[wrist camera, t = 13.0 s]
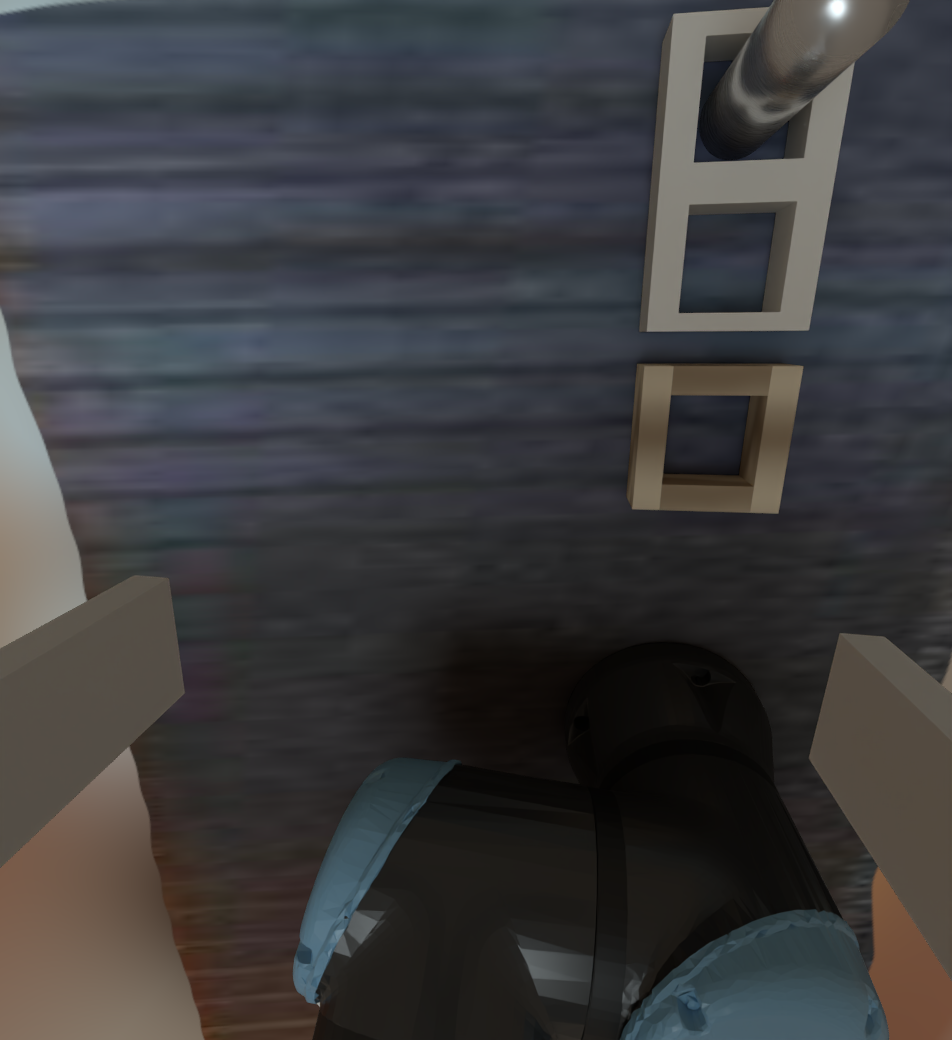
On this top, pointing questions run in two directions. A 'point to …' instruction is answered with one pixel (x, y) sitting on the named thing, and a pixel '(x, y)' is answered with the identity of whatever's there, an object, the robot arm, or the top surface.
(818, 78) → the grey peg
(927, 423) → the top surface
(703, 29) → the rack
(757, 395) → the socket block
